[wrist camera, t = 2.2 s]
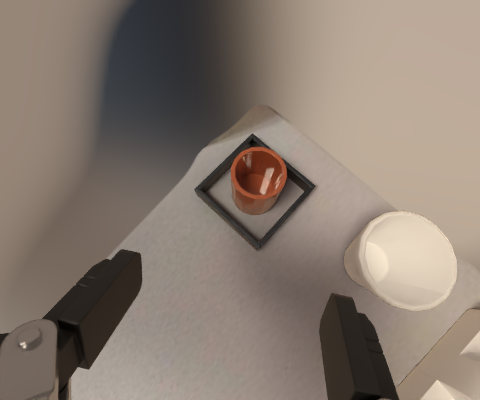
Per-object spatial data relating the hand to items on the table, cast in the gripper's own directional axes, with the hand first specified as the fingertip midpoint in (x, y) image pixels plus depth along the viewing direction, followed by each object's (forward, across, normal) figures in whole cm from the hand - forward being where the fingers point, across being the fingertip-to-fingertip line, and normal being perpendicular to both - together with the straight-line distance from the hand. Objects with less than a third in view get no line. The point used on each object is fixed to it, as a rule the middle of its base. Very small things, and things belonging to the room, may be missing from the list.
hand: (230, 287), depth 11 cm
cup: (+22, -16, +13) cm, 31 cm away
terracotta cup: (+26, 0, +8) cm, 28 cm away
